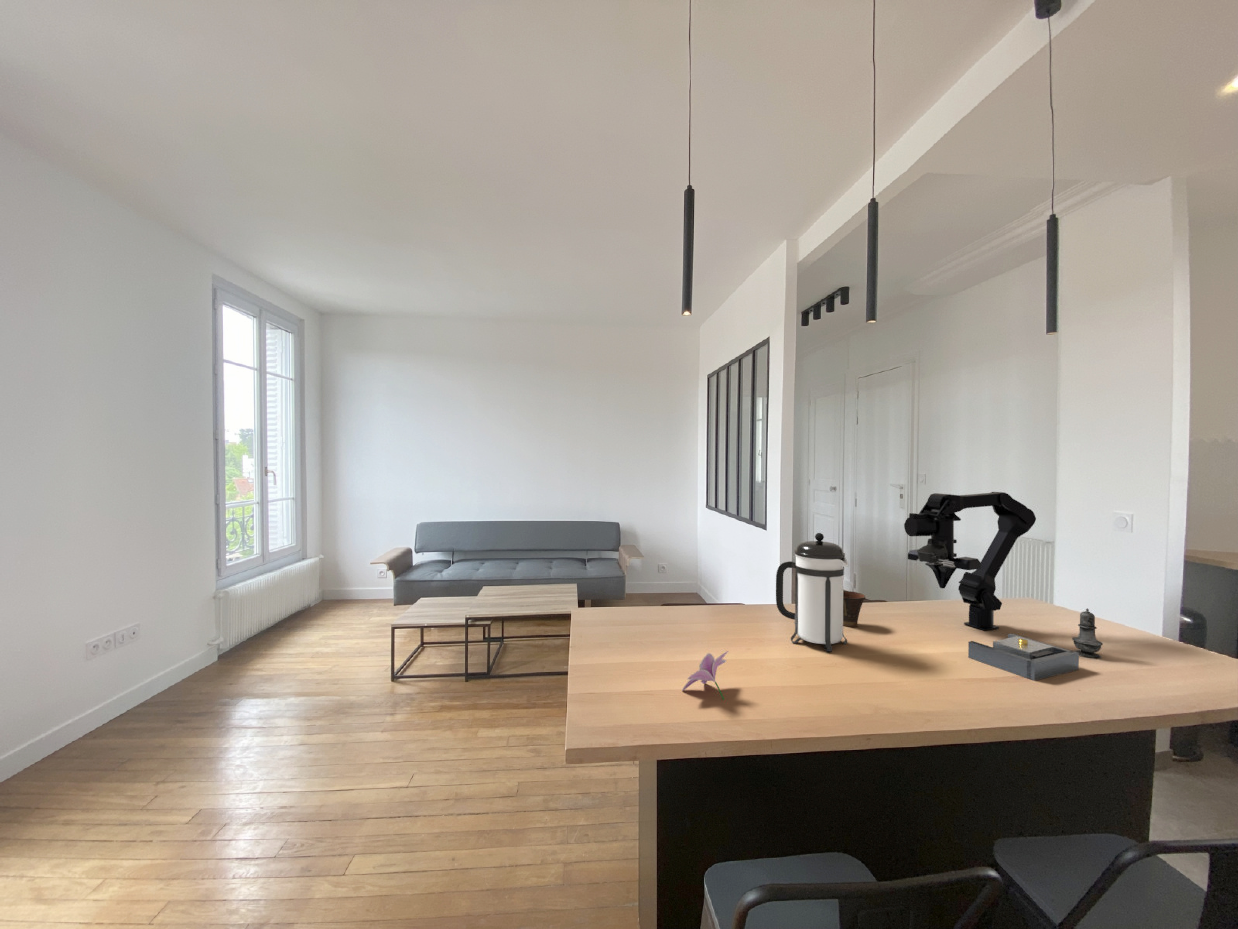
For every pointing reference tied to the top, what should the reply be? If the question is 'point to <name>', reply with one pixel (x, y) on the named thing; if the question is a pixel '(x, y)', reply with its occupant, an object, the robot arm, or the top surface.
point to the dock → (1026, 660)
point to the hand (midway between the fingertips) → (942, 588)
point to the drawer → (1024, 647)
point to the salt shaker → (1087, 637)
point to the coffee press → (816, 592)
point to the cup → (851, 607)
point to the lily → (707, 670)
